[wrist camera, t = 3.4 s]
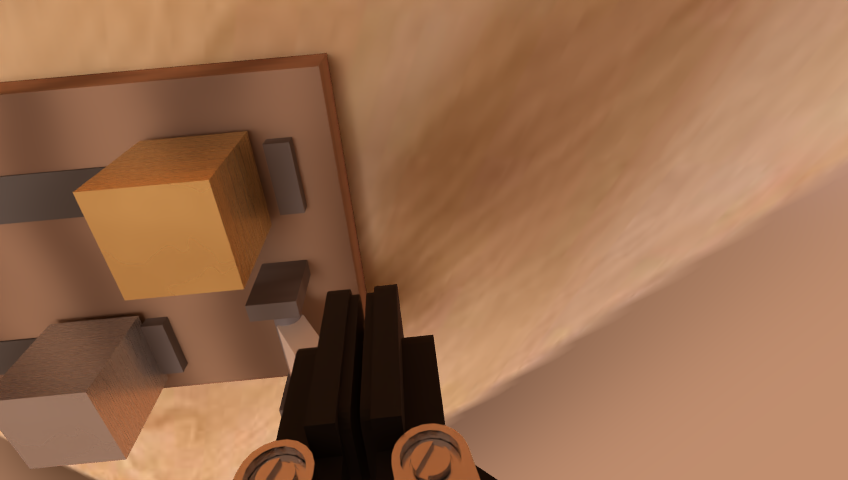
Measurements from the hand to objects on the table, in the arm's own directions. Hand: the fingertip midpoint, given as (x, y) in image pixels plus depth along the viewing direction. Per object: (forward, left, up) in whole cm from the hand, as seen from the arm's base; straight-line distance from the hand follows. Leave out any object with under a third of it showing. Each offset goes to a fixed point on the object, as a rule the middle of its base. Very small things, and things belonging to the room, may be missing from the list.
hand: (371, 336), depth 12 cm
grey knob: (+14, +7, -9) cm, 18 cm away
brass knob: (+7, -1, -9) cm, 11 cm away
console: (+13, +3, -12) cm, 18 cm away
